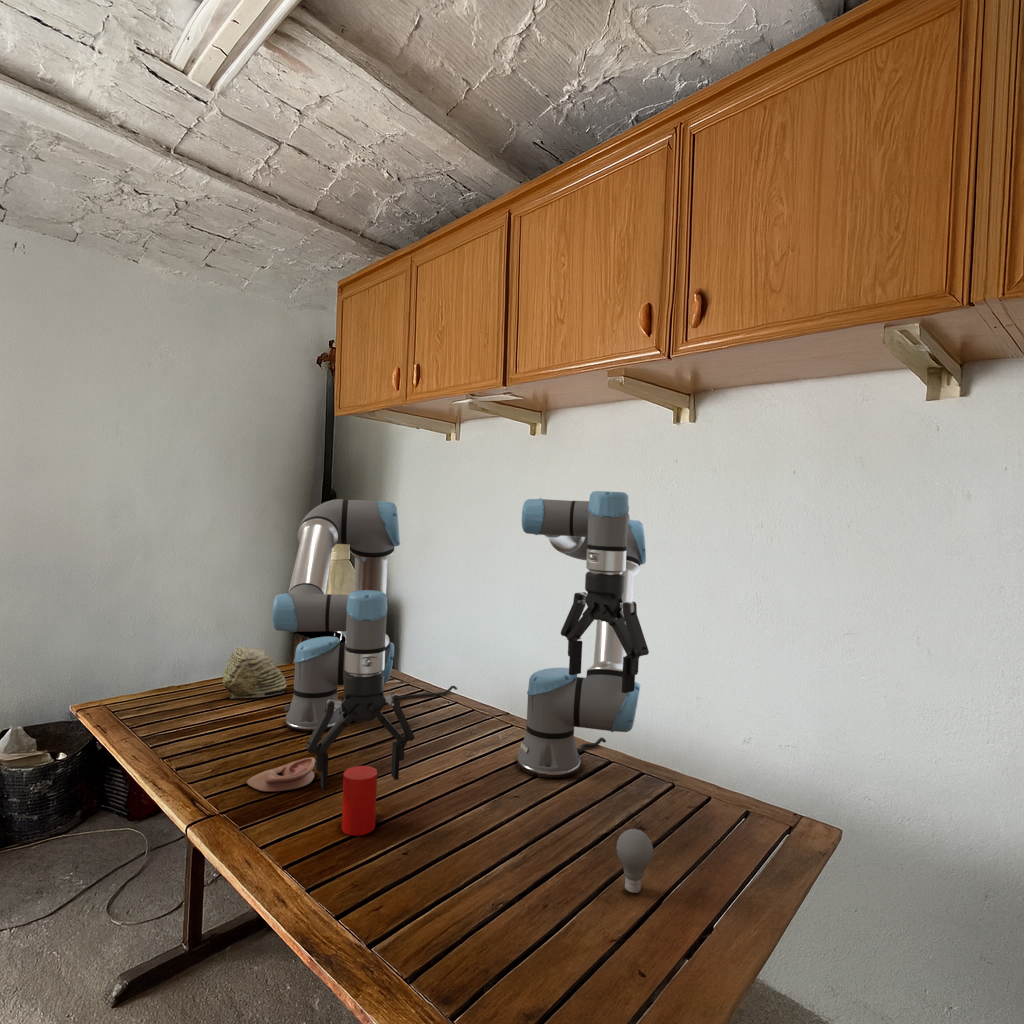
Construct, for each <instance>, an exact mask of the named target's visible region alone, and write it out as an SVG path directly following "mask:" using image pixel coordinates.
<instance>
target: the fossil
mask: <svg viewBox="0 0 1024 1024" xmlns="http://www.w3.org/2000/svg"><path fill="white" fill-rule="evenodd" d="M222 676H223V677H222V685H223V687H224V688H225V690H226V691H228V693H229V698H230V699H250V698H264V697H271V696H275V695H281V694H284V693H285V691H286V689H287V687H288V686H287V680H286V678H285V676H284V674H283V673H282V672H281V669H279V668H278V667H277V665H276V663H275V662H274V660H273V659H272V658H271V657H270V656H269V655H268V654H267V653H266V652H265V650H264V649H263V648H260V647H258V648H251V647H247V646H246V647H245V646H238V647H237V648H236V649H235V650H233V651H232V653H231V656H230V657H229V659H228V660H227V663H226V666H225V668H224V671H223V675H222Z"/></svg>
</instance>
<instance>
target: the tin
mask: <svg viewBox="0 0 1024 1024" xmlns="http://www.w3.org/2000/svg"><path fill="white" fill-rule="evenodd" d="M342 781H343V782H342V783H343V784H342V807H341V808H342V809H341V831H342V832H343V833H344V834H346V835H348V836H357V837H358V836H363V835H367V834H370V833H371V832H372V831H374V829H375V828H376V816H377V813H376V811H377V793H378V791H377V790H378V770H377V769H376V768H375V767H373V766H369V765H356V766H352V767H349V768H347V769H346V770H344V771H343V780H342Z"/></svg>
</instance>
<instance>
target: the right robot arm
mask: <svg viewBox="0 0 1024 1024" xmlns="http://www.w3.org/2000/svg"><path fill="white" fill-rule="evenodd" d="M629 510H630V506H629V494H627V492H623V491H607V490H605V491H604V490H603V491H602V490H595V491H592V492H591V493H590V494H589V500H564V499H547V498H540V497H539V498H528V499H526V500H525V501H524V503H523V504H522V509H521V528H522V531H523V532H524V534H529V535H535V536H544V537H545V538H547V539H548V540H549V543H550V545H551V546H552V547H553V549H554V550H556V551H557V552H559V553H561V554H563V555H565V556H568V557H571V558H574V559H577V560H581V561H586V562H585V568H586V569H587V570H588V571H587V572H586V573H585V579H584V590H585V591H583V592H581V591H580V592H574V595H573V601H572V602H573V603H572V605H571V607H570V609H569V612H568V614H567V616H566V619H565V621H564V623H563V625H562V628H561V630H560V635H561V636H562V637H565V638H566V640H567V641H568V642H567V656H568V657H569V660H568V661H569V663H568V667H549V668H542V669H539V670H537V671H535V672H533V673H532V674H531V675H530V677H529V678H528V679H529V680H528V687H527V693H526V694H527V708H526V730H525V735H524V737H523V740H522V742H521V743H520V749H519V751H518V753H517V766H518V768H519V769H520V770H521V771H523V772H524V773H526V774H527V775H530V776H533V777H536V778H543V779H565V778H569V777H572V776H574V775H576V774H578V773H579V771H580V769H581V758H580V754H579V753H580V752H582V751H583V750H584V748H596V747H597V746H599V745H600V744H601V743H607V740H606V739H605V738H604V737H599V738H598V739H597V740H596V741H595V742H592V743H581V744H580V745H579V747H578V746H577V743H576V739H575V728H581V729H590V730H599V731H607V732H611V733H614V732H615V733H616V732H619V733H628V732H630V731H631V730H633V728H634V725H635V719H636V713H637V708H638V703H639V696H640V690H641V684H640V683H639V682H637V681H636V675H638V674H639V665H640V664H639V663H640V658H641V657H642V656H648V655H649V653H650V651H649V647H648V644H647V641H646V637H645V635H644V632H643V628H642V626H641V623H640V620H639V617H638V616H639V615H638V610H637V609H638V608H637V602H636V601H633V599H634V598H633V595H634V579H635V578H634V577H635V575H637V574H638V573H639V572H640V570H641V566H642V565H643V566H644V565H645V564H646V563H647V551H646V538H645V537H646V536H645V529H644V525H643V523H642V522H641V521H640V520H638V519H630V514H629V512H630V511H629ZM586 606H587V607H586ZM585 608H586V609H585ZM594 621H596V627H595V641H594V651H593V652H594V653H593V663H592V665H591V666H589V668H587V669H586V677H582V676H581V677H580V676H578V675H581V674H582V657H583V640H582V636H583V635H584V633H585V632H586V631H587V630H588V628H589V627H590V626H591V625H592V624H593V622H594Z"/></svg>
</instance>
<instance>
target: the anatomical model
mask: <svg viewBox="0 0 1024 1024" xmlns="http://www.w3.org/2000/svg"><path fill="white" fill-rule="evenodd" d="M315 766H316V758H315V757H306V758H302V759H299V760H295V761H291V762H289V763H287V764H283V765H281V766H280V765H279V766H278V767H275V768H270V769H268V770H267V769H266V770H264V771H262V772H259V773H257V774H255V775H253V776H252V777H250V778H249V779H247V781H246V784H247V785H248V786H249V787H251V788H253V789H255V790H258V791H260V792H282V791H283V792H284V791H290V790H295V789H299V788H302V787H305V786H307V785H309V784H310V783H311V782H312V781H313V780H314V778H315V772H314V771H313V769H314V767H315Z"/></svg>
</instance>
